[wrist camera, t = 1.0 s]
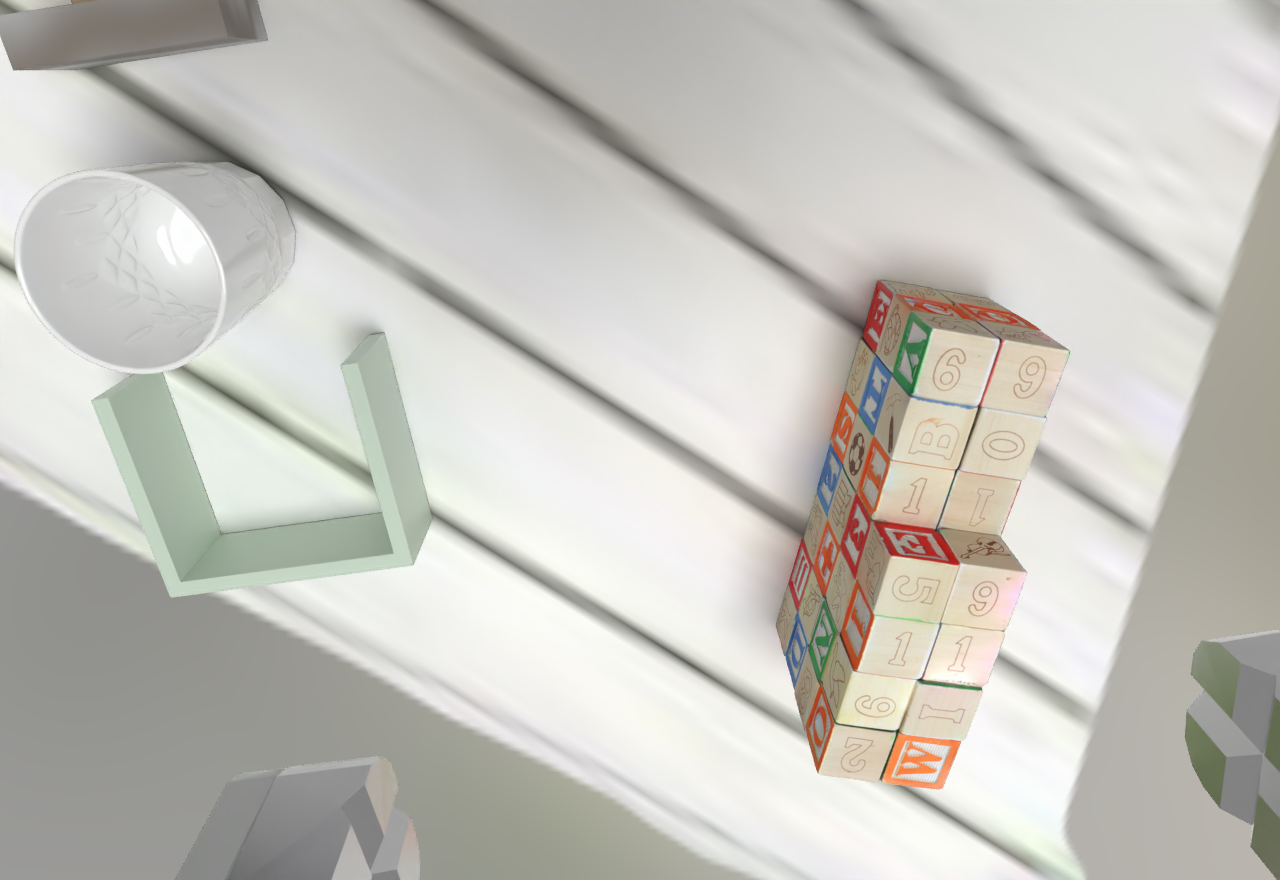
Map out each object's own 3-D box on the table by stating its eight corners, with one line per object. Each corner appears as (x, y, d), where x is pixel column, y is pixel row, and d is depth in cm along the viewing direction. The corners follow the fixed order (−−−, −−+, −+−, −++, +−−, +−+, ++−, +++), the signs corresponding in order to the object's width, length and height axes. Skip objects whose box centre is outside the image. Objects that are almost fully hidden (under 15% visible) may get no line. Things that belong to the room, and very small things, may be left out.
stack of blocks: (873, 275, 45) (959, 345, 34) (991, 296, 45) (1115, 372, 34) (774, 627, 53) (816, 780, 42) (875, 641, 54) (944, 796, 42)
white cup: (295, 146, 42) (203, 168, 33) (320, 310, 45) (243, 372, 36) (126, 148, 42) (-14, 171, 33) (163, 313, 45) (44, 376, 36)
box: (144, 367, 46) (91, 400, 41) (384, 332, 45) (357, 362, 41) (212, 548, 50) (170, 597, 45) (432, 519, 50) (413, 565, 45)
